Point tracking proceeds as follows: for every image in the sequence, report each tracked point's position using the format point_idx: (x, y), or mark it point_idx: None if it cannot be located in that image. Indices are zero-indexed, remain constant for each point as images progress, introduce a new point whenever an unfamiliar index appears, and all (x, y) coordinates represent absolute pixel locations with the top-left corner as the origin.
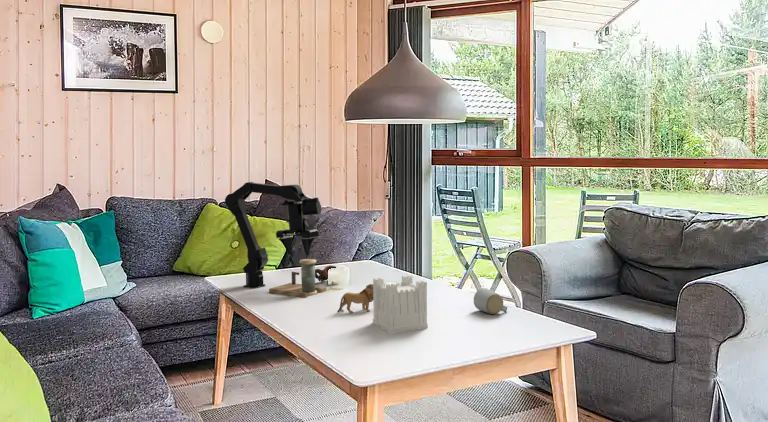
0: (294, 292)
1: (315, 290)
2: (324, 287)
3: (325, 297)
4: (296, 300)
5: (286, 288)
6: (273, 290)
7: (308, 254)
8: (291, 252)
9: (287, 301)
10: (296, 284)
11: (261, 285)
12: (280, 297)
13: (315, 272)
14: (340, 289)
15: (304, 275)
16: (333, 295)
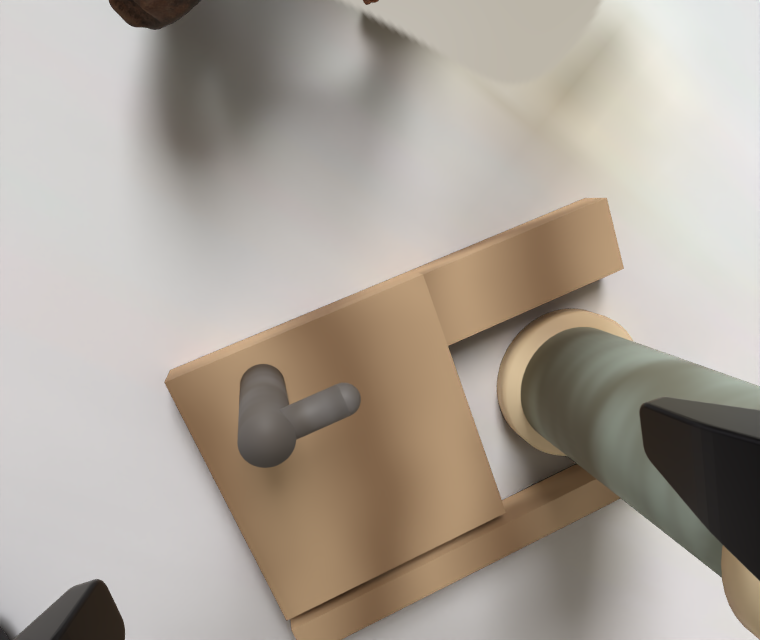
0: (568, 520)
1: (595, 322)
2: (602, 216)
3: (746, 335)
4: (673, 547)
5: (402, 525)
6: (353, 623)
7: (673, 404)
8: (87, 630)
9: (654, 607)
10: (295, 368)
11: (5, 636)
12: (522, 608)
13: (186, 13)
14: (617, 43)
15: None
16: (741, 247)
